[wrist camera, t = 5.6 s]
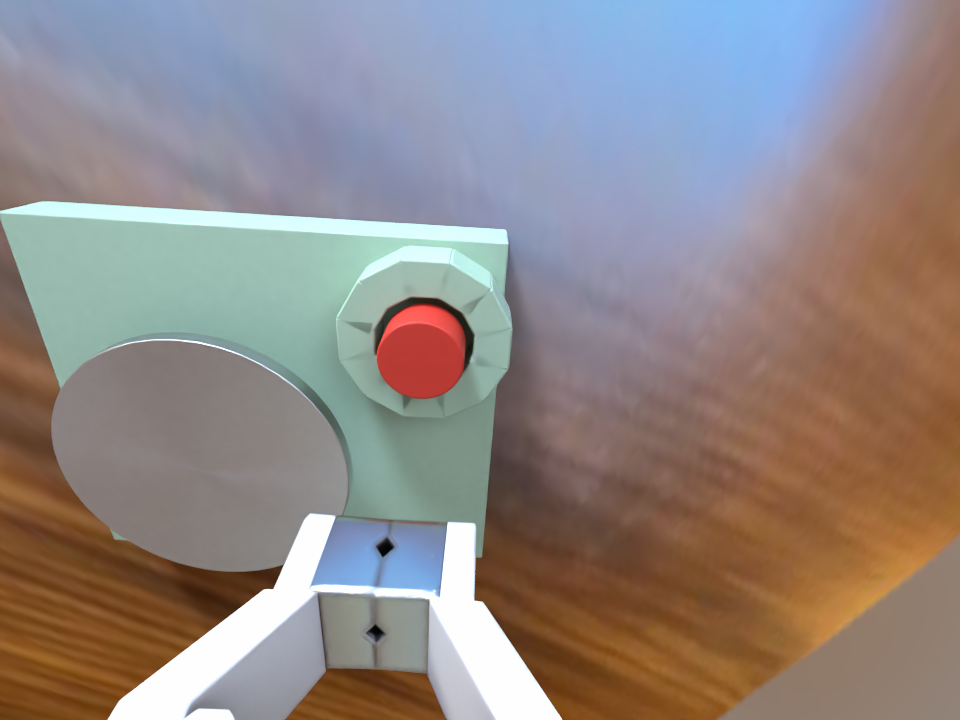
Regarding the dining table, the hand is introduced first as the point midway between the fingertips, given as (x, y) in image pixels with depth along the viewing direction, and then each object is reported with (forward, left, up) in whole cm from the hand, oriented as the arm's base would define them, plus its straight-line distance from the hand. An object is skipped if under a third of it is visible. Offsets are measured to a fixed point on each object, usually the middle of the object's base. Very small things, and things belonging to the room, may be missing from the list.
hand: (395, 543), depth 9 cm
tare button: (0, 0, -8) cm, 8 cm away
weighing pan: (+8, +5, -8) cm, 12 cm away
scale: (+6, +4, -11) cm, 13 cm away
